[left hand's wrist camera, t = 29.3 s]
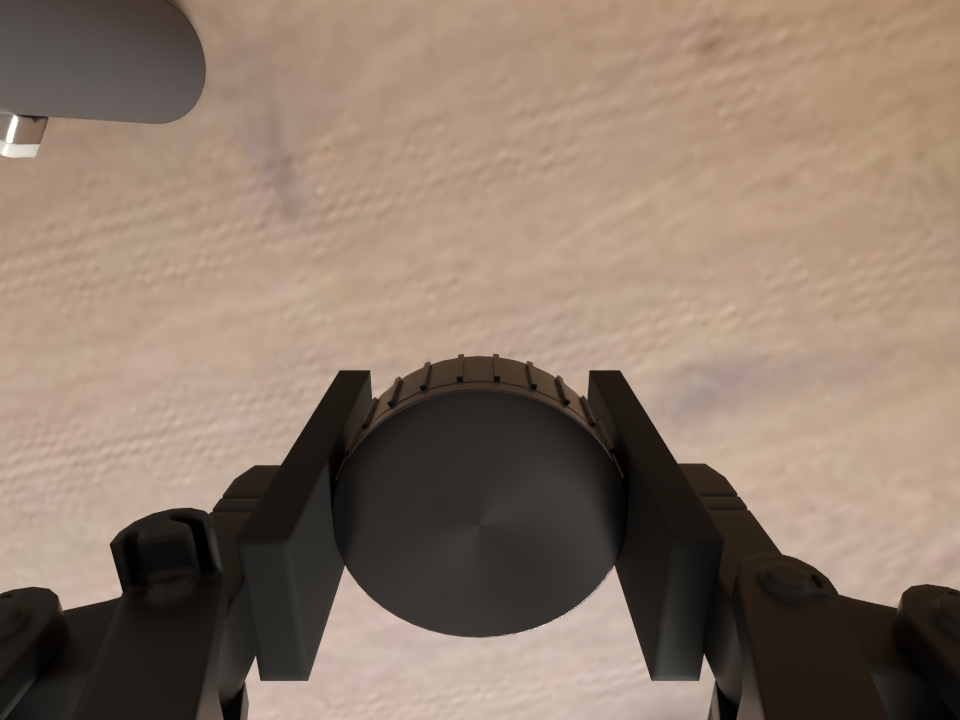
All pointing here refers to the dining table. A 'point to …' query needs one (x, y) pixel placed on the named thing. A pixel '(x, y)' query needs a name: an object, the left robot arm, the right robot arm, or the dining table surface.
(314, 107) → the dining table surface
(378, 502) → the lid
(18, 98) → the dark grey cylinder
